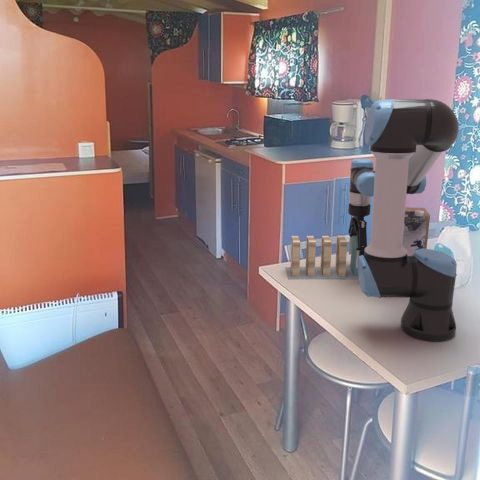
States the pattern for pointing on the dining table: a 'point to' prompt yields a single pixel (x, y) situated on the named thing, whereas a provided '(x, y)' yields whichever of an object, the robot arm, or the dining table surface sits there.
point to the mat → (320, 274)
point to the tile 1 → (295, 256)
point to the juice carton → (414, 231)
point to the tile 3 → (325, 255)
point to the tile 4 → (341, 256)
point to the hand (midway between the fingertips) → (356, 260)
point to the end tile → (354, 256)
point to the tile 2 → (310, 256)
